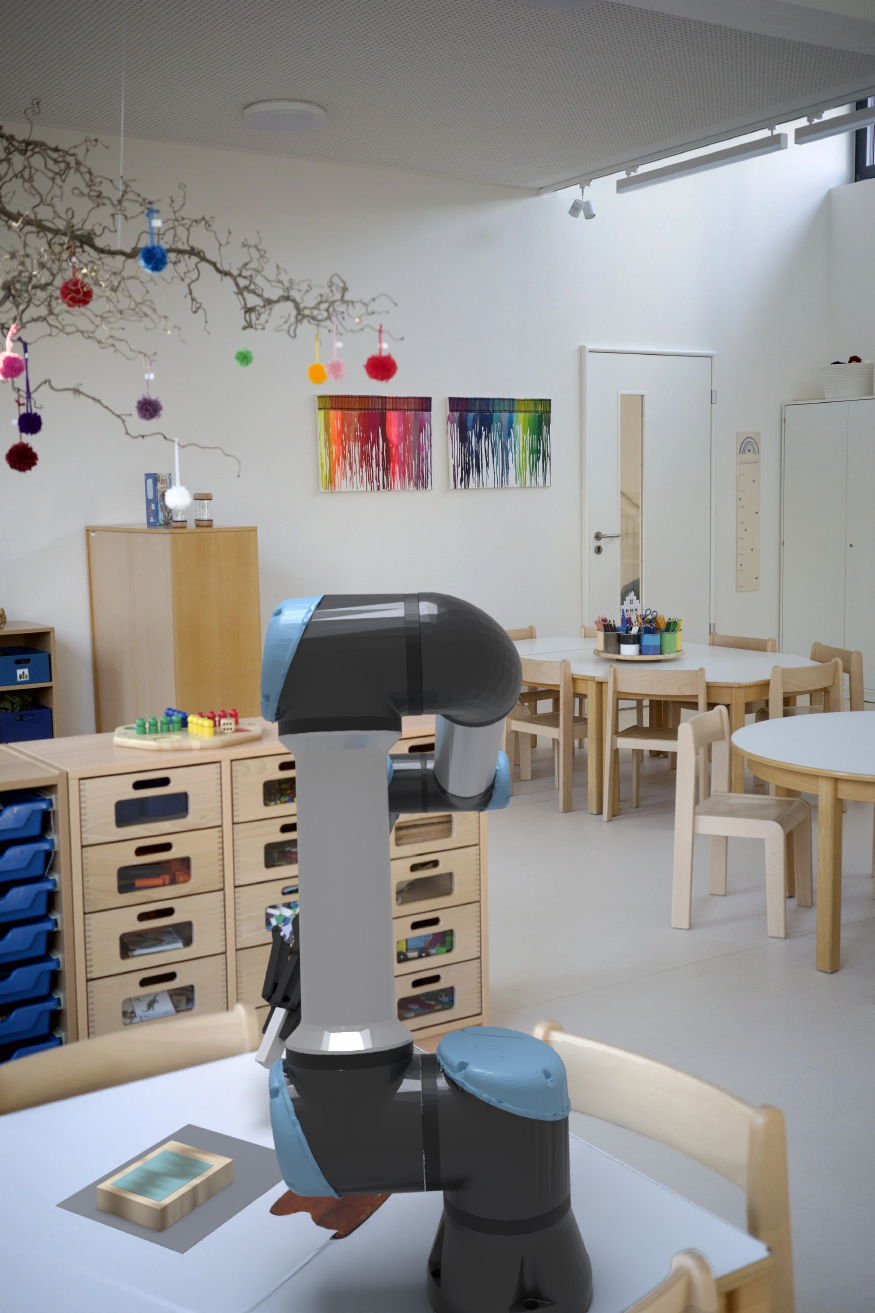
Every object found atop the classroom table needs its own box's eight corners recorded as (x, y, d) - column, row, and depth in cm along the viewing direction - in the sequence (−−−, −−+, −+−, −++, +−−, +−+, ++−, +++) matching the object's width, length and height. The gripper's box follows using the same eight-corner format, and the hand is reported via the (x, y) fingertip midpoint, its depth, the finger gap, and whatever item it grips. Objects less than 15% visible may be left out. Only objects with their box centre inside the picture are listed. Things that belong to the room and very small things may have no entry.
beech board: (233, 1159, 129) (159, 1209, 119) (234, 1181, 129) (161, 1232, 120) (171, 1139, 133) (96, 1186, 124) (172, 1161, 134) (97, 1209, 124)
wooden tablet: (345, 1248, 118) (344, 1232, 118) (261, 1225, 123) (260, 1209, 122) (462, 1127, 142) (461, 1114, 141) (388, 1111, 146) (388, 1098, 146)
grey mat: (309, 1165, 133) (309, 1160, 133) (183, 1259, 116) (182, 1253, 116) (188, 1128, 142) (188, 1123, 142) (55, 1211, 125) (55, 1205, 125)
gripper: (394, 905, 151) (325, 1088, 139) (311, 894, 158) (238, 1067, 146) (368, 876, 146) (293, 1063, 134) (283, 866, 153) (205, 1043, 140)
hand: (265, 1065), depth 140 cm, fingers closed
